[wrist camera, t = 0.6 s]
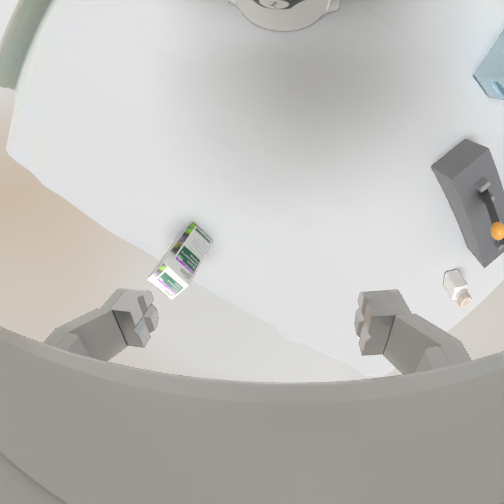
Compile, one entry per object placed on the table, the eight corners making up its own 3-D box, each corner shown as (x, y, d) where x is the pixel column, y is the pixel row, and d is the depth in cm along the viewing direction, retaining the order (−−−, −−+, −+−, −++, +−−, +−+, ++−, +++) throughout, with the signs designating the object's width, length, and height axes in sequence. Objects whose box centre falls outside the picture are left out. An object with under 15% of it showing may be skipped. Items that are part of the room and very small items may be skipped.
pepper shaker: (444, 271, 50) (460, 298, 42) (457, 268, 49) (475, 294, 41) (442, 285, 52) (457, 312, 44) (455, 281, 51) (471, 308, 43)
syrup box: (213, 240, 55) (190, 285, 42) (196, 256, 57) (171, 301, 45) (192, 221, 53) (163, 261, 41) (176, 238, 56) (145, 280, 43)
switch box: (467, 247, 46) (488, 273, 38) (430, 166, 40) (457, 183, 32) (496, 223, 42) (520, 245, 33) (464, 139, 35) (495, 151, 27)
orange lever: (480, 198, 33) (494, 246, 27) (476, 186, 33) (490, 233, 26) (492, 193, 31) (508, 241, 25) (487, 181, 31) (505, 227, 24)
